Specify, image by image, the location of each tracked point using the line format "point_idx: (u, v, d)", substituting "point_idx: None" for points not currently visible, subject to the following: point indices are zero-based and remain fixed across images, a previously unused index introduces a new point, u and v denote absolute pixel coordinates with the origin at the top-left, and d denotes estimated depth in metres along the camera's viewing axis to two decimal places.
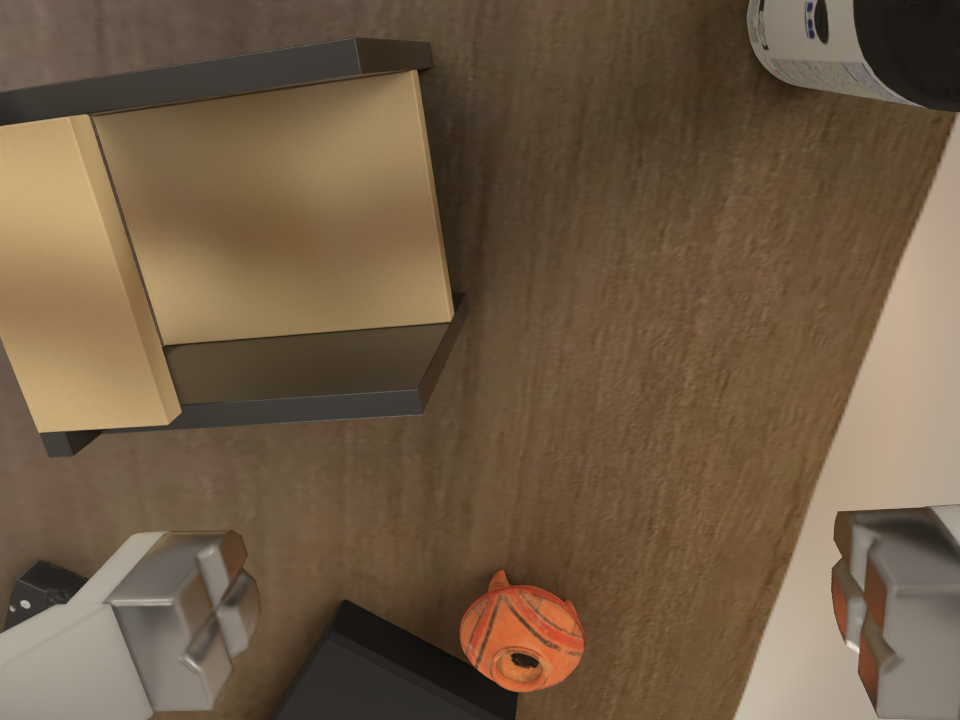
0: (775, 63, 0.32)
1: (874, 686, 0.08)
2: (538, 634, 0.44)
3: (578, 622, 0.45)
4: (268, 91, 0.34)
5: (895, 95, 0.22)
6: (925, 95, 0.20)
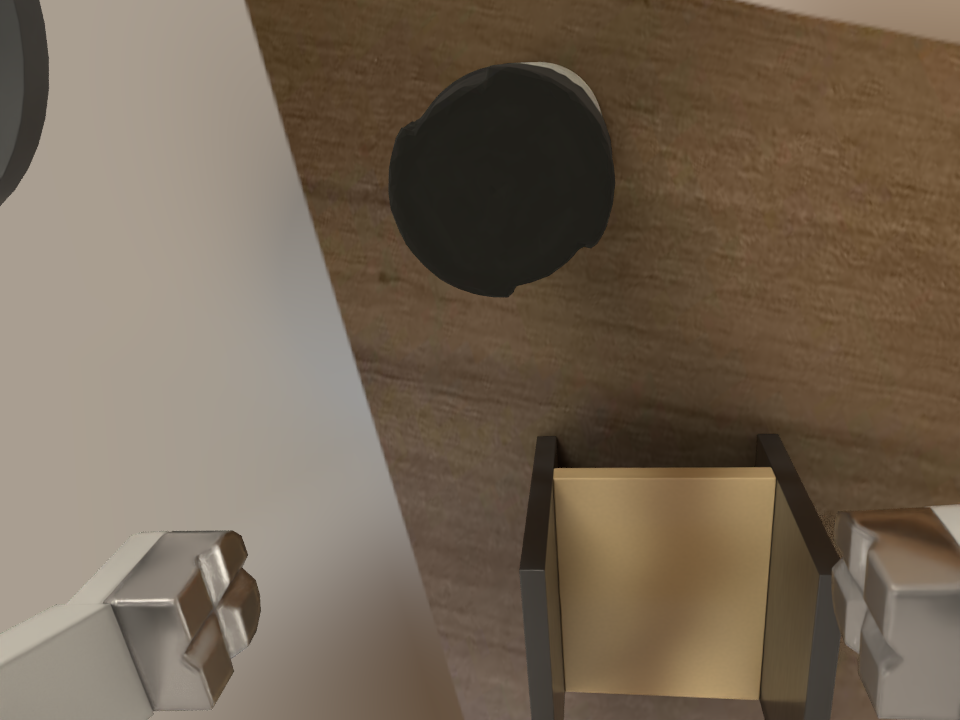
0: None
1: (874, 686, 0.08)
2: None
3: None
4: (559, 577, 0.44)
5: None
6: None
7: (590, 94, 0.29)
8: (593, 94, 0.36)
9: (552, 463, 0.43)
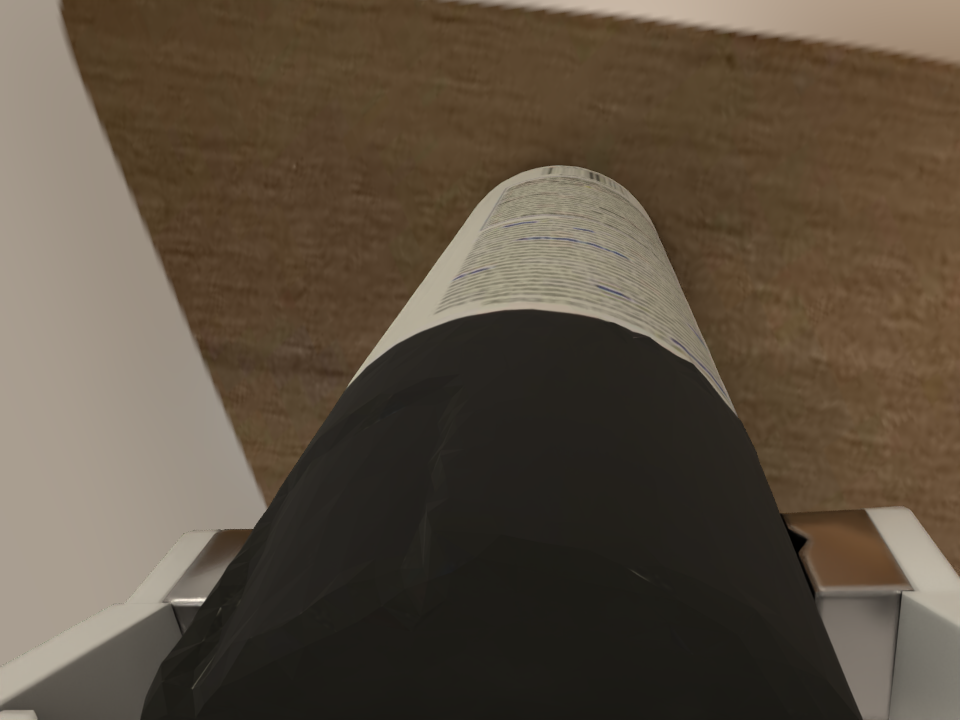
0: None
1: None
2: None
3: None
4: None
5: None
6: None
7: (672, 284, 0.14)
8: (649, 219, 0.21)
9: None
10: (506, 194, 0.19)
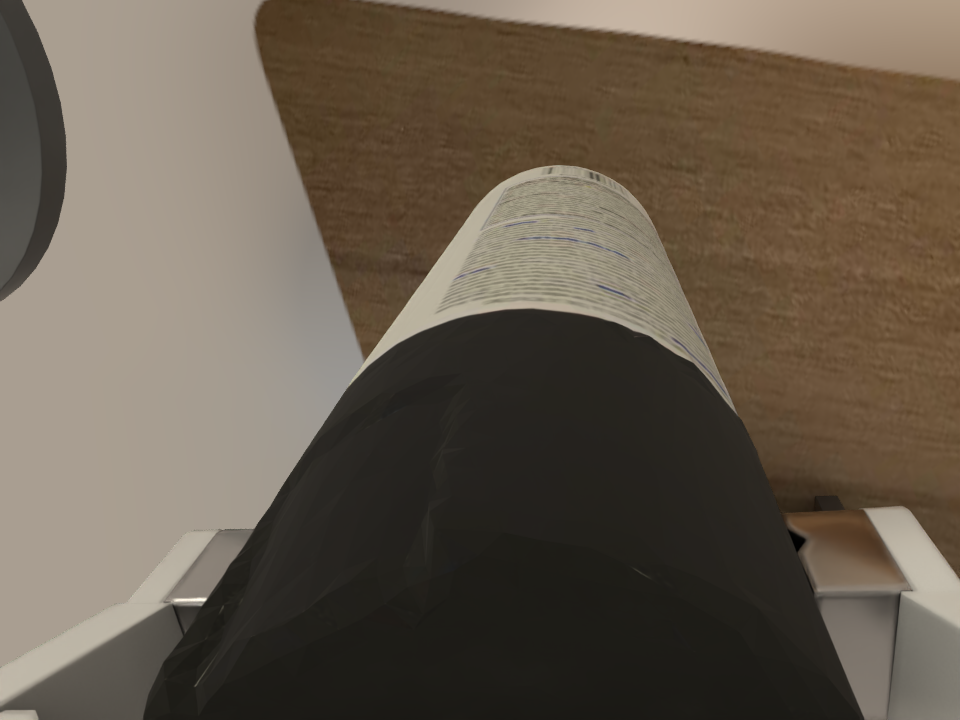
0: None
1: None
2: None
3: None
4: None
5: None
6: None
7: (672, 283, 0.14)
8: (649, 219, 0.21)
9: None
10: (506, 194, 0.19)
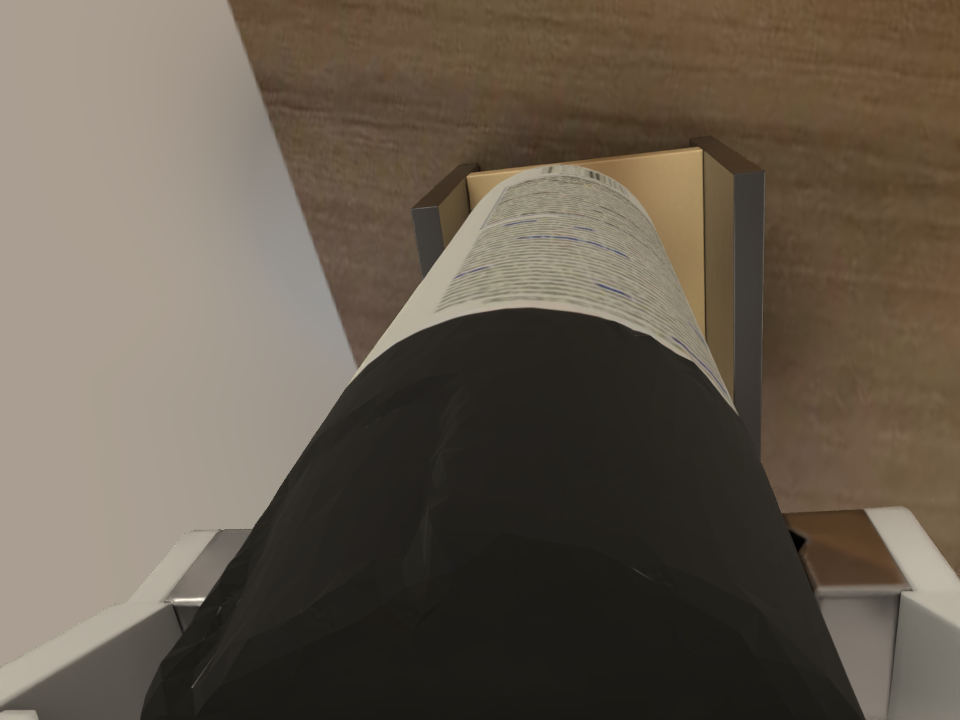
0: None
1: None
2: None
3: None
4: None
5: None
6: None
7: (673, 282, 0.14)
8: (649, 218, 0.21)
9: (468, 171, 0.40)
10: (506, 193, 0.19)
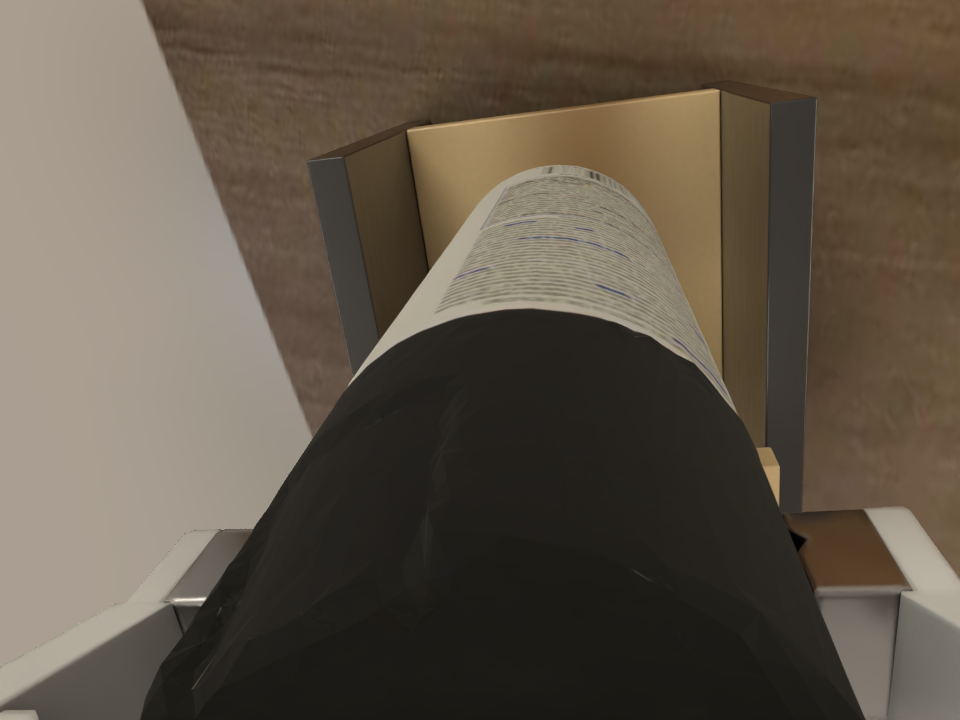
0: None
1: None
2: None
3: None
4: None
5: None
6: None
7: (673, 283, 0.14)
8: (649, 219, 0.21)
9: (412, 126, 0.30)
10: (506, 193, 0.19)
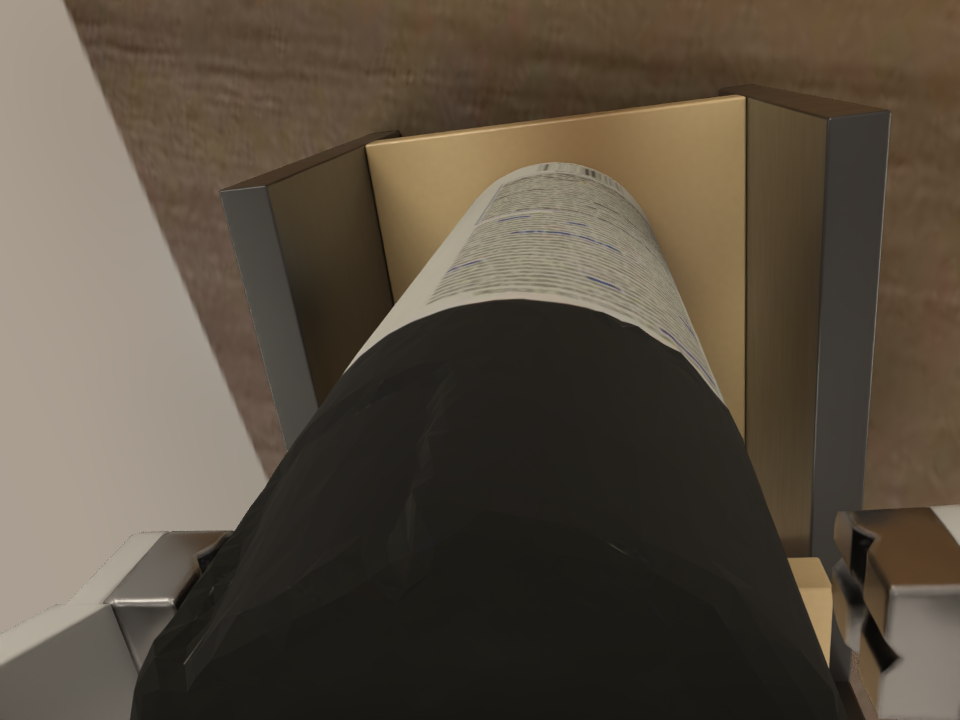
0: None
1: (874, 686, 0.08)
2: None
3: None
4: None
5: None
6: None
7: (665, 277, 0.14)
8: (644, 216, 0.22)
9: (374, 139, 0.25)
10: (502, 190, 0.19)
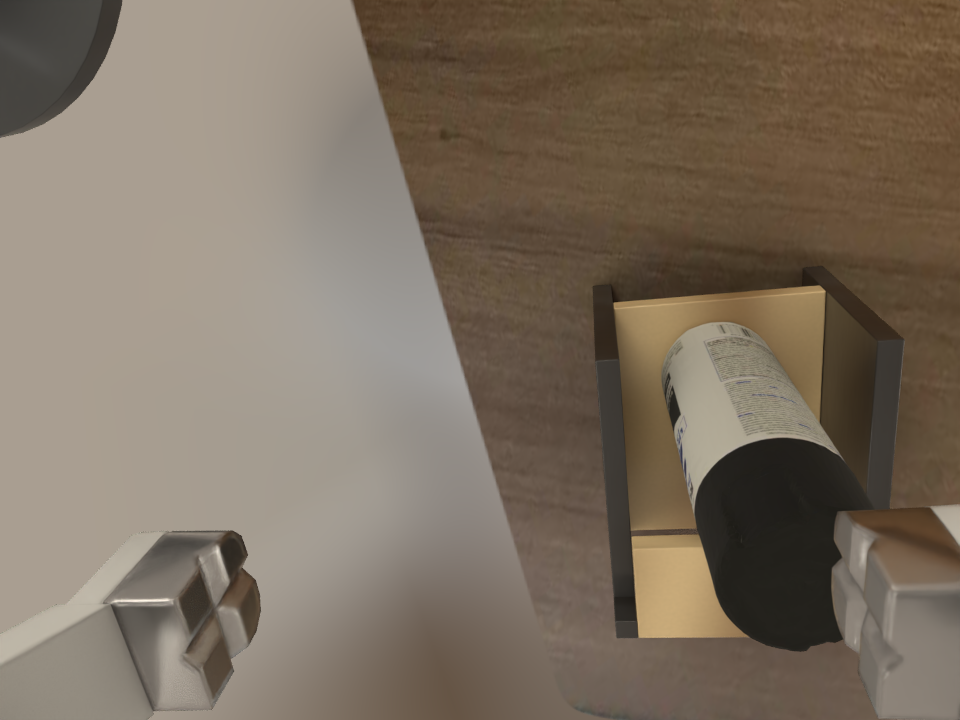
0: None
1: (874, 686, 0.08)
2: None
3: None
4: None
5: None
6: None
7: None
8: None
9: (611, 299, 0.45)
10: (711, 349, 0.39)
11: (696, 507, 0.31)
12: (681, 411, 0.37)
